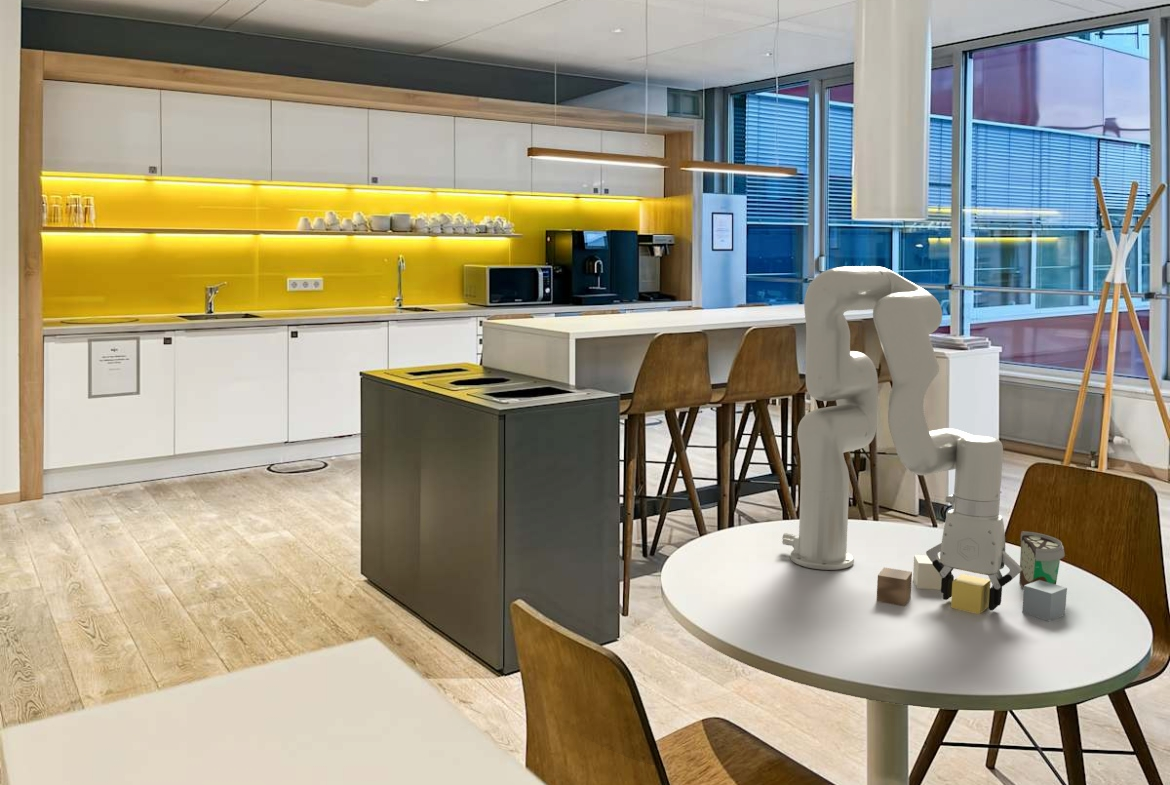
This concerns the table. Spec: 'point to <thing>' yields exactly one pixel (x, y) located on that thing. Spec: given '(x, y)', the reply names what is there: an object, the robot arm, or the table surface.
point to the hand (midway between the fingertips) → (970, 602)
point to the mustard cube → (970, 593)
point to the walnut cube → (894, 586)
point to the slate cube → (1044, 600)
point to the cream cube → (925, 573)
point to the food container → (1039, 558)
